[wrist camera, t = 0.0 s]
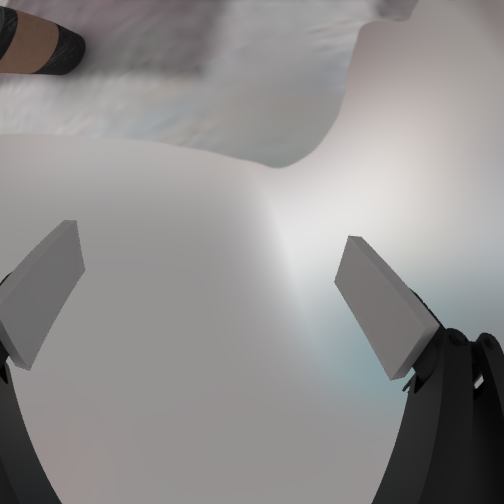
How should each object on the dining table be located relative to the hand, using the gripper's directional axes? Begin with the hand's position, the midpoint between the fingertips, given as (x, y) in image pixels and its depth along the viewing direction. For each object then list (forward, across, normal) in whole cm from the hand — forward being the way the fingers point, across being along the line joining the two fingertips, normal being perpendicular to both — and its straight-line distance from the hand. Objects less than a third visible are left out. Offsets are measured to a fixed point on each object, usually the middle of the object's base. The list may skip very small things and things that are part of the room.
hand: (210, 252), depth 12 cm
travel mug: (+28, -25, +17) cm, 42 cm away
